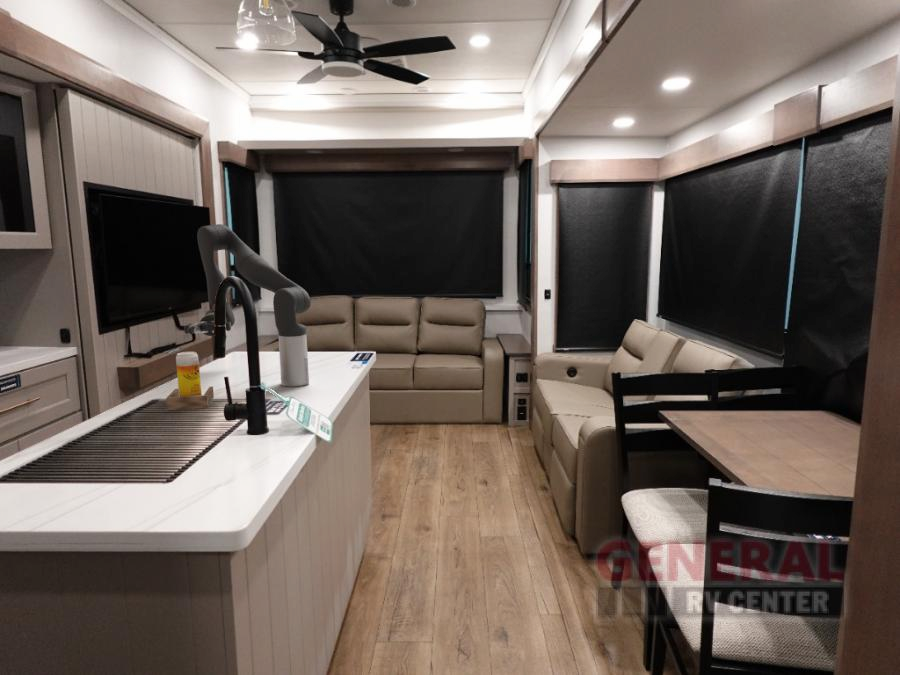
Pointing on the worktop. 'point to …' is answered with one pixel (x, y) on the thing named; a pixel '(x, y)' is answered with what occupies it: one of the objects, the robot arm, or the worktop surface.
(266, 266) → the robot arm
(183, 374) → the amber medicine vial
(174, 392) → the can holder
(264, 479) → the worktop surface
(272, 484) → the worktop surface
